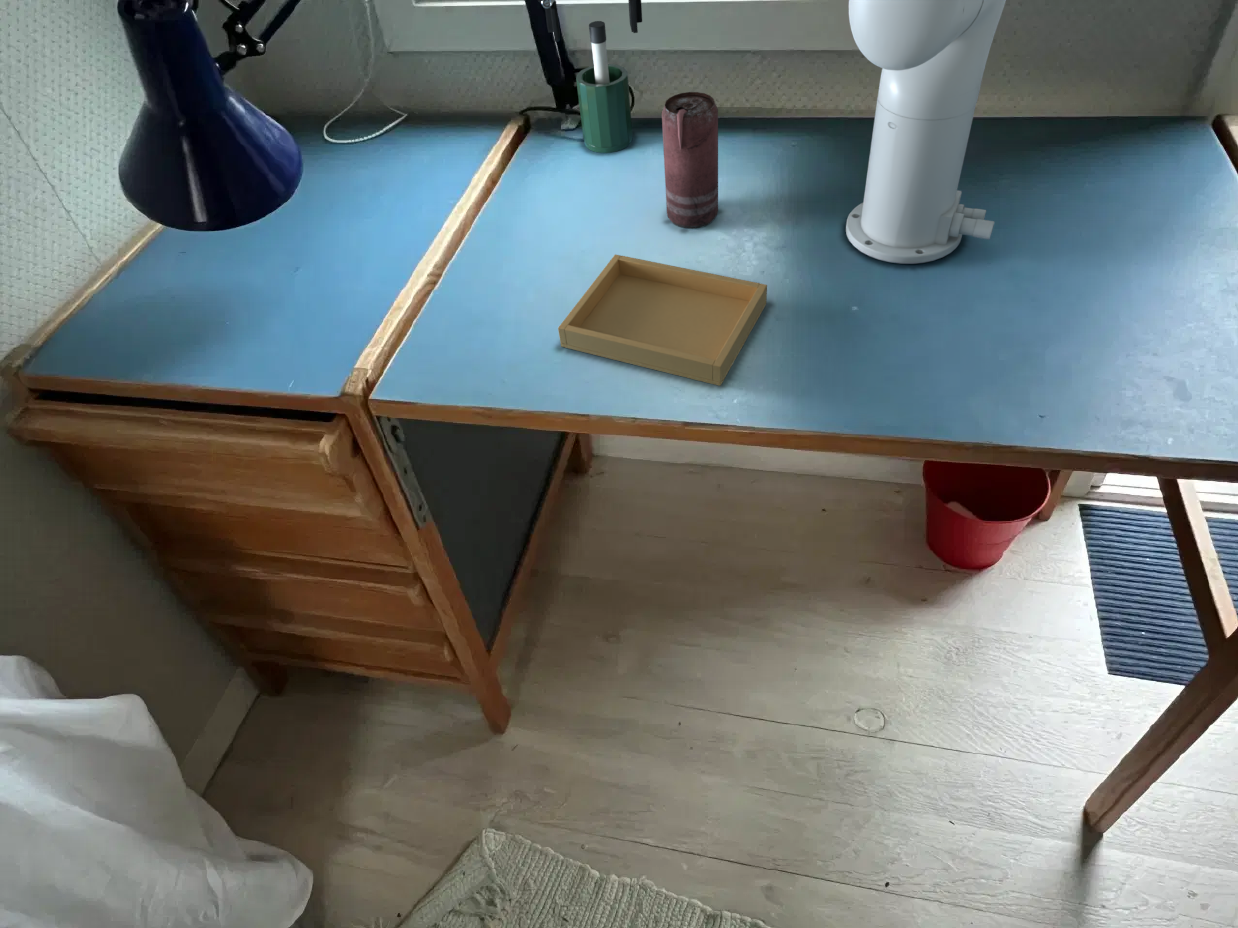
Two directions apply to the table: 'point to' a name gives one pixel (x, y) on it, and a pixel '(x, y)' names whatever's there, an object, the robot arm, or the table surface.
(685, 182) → the can
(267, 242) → the table surface
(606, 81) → the marker
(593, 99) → the tumbler
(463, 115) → the table surface
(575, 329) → the tray
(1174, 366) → the table surface
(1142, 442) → the table surface
